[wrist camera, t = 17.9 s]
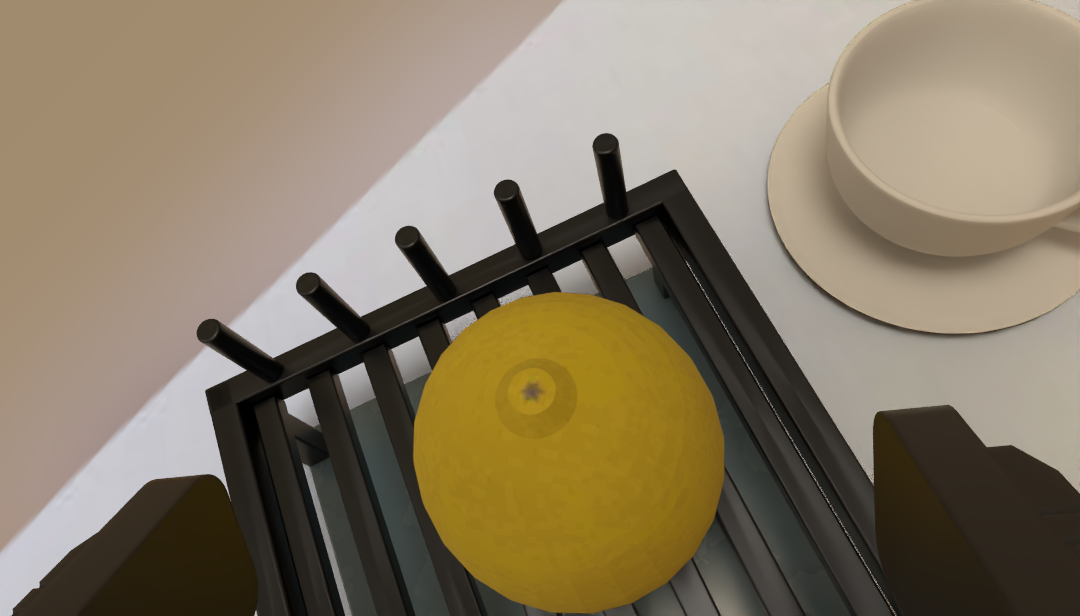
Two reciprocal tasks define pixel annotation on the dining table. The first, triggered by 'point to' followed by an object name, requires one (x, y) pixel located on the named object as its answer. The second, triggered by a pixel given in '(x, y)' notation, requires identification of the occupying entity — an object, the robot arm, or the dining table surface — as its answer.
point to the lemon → (568, 453)
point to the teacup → (940, 167)
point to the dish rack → (388, 420)
